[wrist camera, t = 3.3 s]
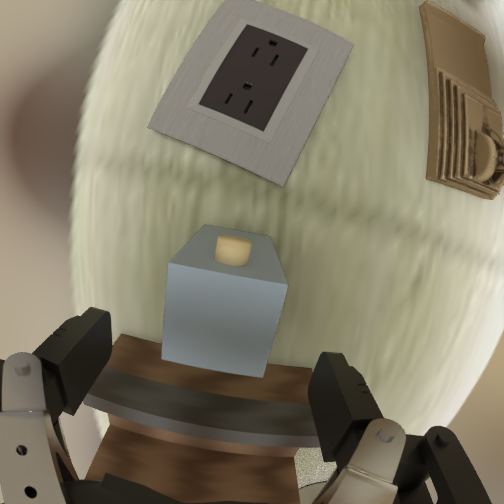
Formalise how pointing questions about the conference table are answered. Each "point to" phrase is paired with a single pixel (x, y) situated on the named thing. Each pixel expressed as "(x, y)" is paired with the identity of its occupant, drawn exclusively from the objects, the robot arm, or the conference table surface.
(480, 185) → the banker's lamp
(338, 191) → the conference table surface
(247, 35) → the electrical outlet
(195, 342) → the cabinet block
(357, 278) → the conference table surface
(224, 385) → the board
